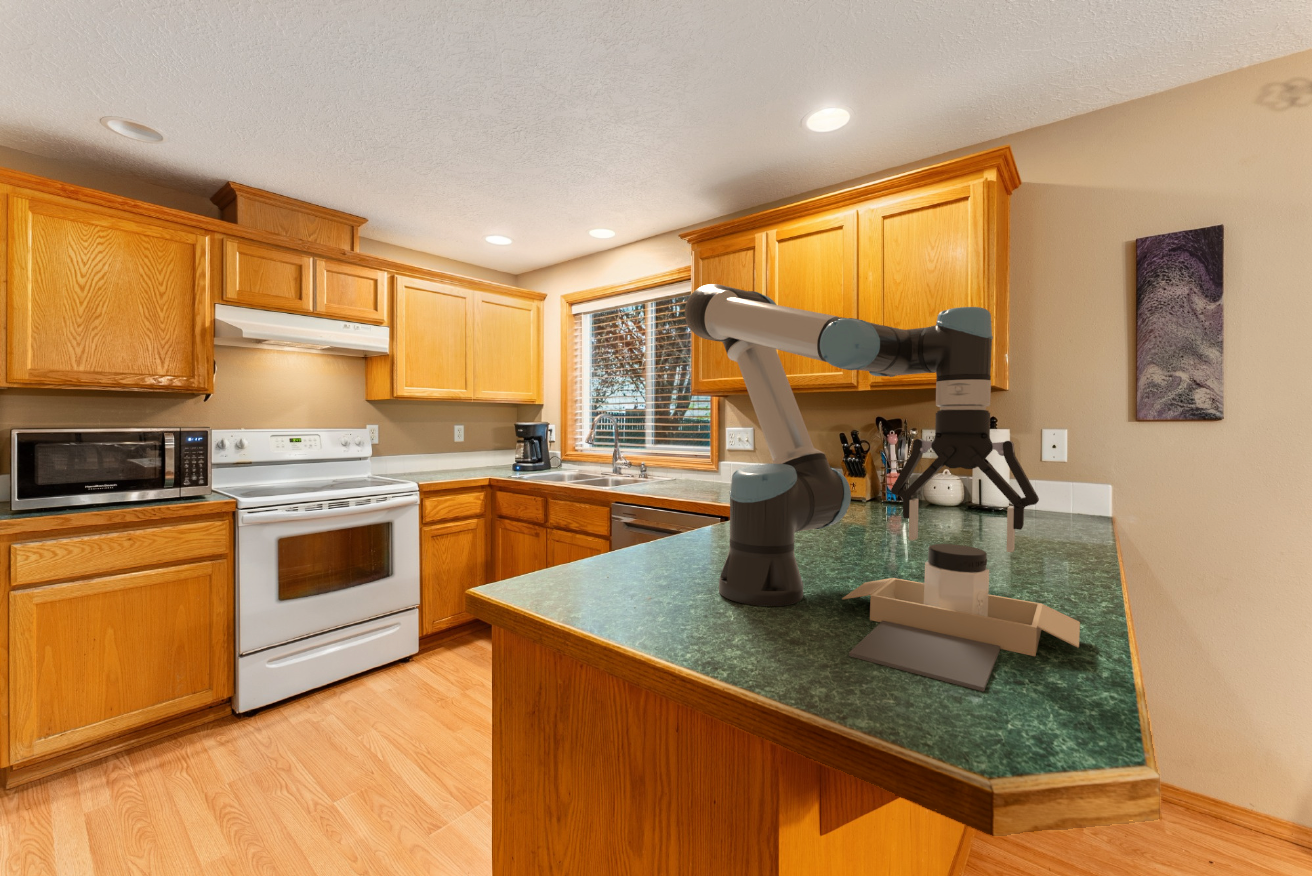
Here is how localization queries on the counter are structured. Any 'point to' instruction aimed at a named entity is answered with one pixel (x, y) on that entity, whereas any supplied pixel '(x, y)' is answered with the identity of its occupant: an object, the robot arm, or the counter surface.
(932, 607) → the carton
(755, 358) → the robot arm
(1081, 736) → the counter surface
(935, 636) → the mat
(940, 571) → the jar
